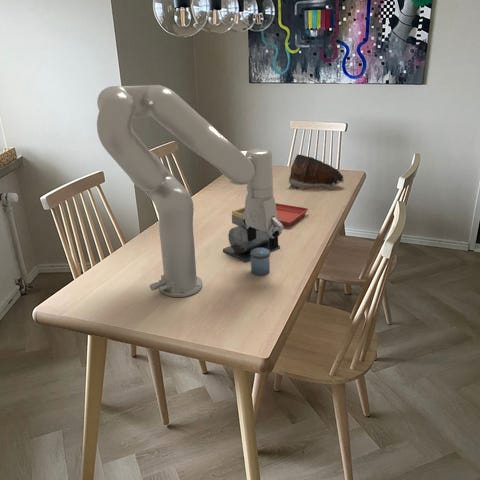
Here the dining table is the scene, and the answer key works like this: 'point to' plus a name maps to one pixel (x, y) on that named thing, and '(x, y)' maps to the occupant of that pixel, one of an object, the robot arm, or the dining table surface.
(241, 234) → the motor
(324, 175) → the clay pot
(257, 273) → the blue rounded cylinder
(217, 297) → the dining table surface
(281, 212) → the plant saucer
